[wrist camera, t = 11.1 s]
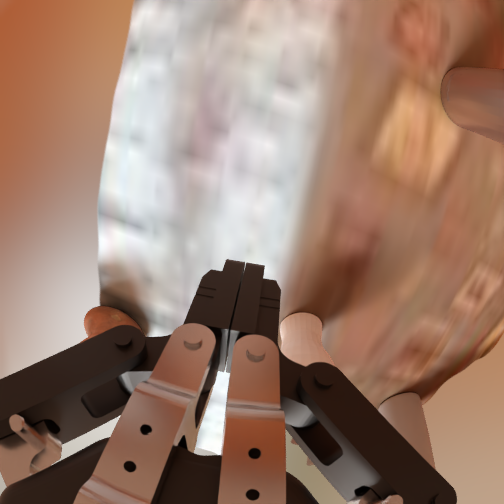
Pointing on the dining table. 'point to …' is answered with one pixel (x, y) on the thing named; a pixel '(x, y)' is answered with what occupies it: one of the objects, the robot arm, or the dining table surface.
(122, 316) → the ceramic jug
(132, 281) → the dining table surface
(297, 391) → the robot arm
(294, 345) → the white flared cylinder
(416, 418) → the cylinder vase
